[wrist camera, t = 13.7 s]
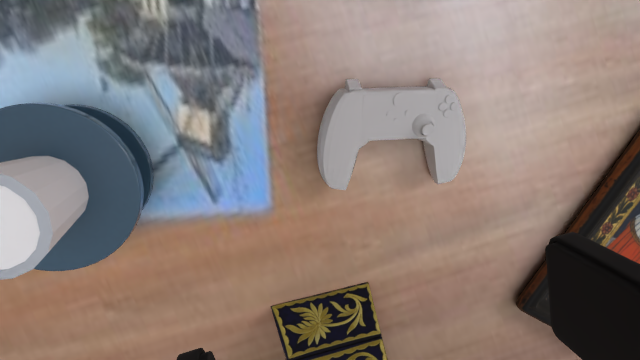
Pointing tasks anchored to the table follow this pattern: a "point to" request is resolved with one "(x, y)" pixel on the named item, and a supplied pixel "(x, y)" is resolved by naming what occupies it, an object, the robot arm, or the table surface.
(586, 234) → the framed icon painting
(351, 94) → the game controller
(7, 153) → the stand
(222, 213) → the table surface
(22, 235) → the shot glass
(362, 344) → the decorative box
